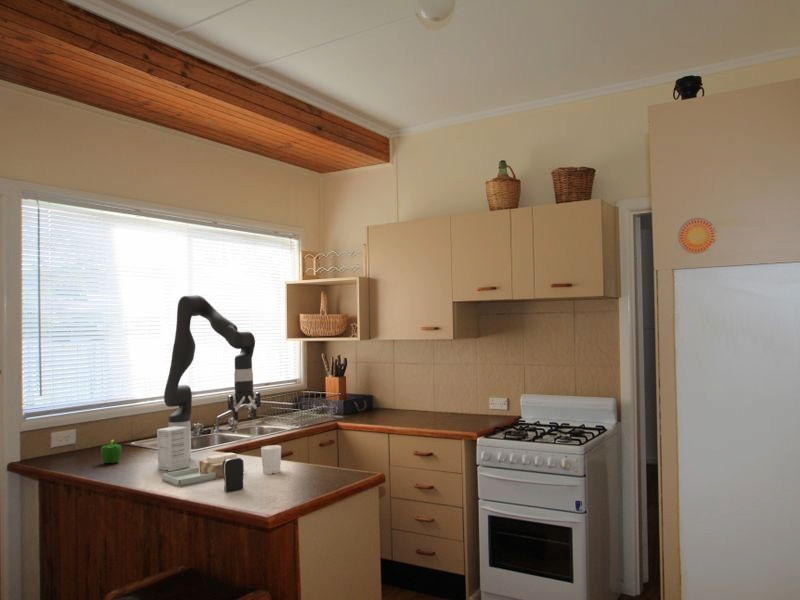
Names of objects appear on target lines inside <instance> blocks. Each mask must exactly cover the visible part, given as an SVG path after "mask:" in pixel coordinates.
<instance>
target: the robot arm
mask: <svg viewBox="0 0 800 600" xmlns="http://www.w3.org/2000/svg"><path fill="white" fill-rule="evenodd" d="M198 316H200V317H202V318H205V319H206V320H208V321H209V324H210V326H211V328H212V329H213V330H214V331H215V332H216V333H217V334H218V335H220V336H221V337H222V338H224V339H225V341H227V343H228V344H229V345H230V346H231V347H232V348H233V349H235V350H240V352H239V354H236V355H235V357H234V373H233V375H234V377H233V378H234V395H228V396H227V410H228V411H231V412H232V419H233V420H234V422H235V421H237V422H238V421H239V411H238V410H239V409H240V407H241V406H242V405H243V406H244V405H248V406H250V408H251V409H250V416H251V419H256V417H257V409H258V408H260V407H261V392H254V371H253V355H254V351H255V346H256V339H255V336H254V334H253V332H251V331H238V330H239V329H238V327H237V324H235V323H233V322H232V321H230V320H229V319H228V318H226V317H224V316H223V315H222V314H221V313H220V312H219V311H218V310H216V309H215V308H214V306H213V305H212V304H210V302H208V300H207V299H206V298H204V297H203V296H201V295H199V294H192V295H190V294H189V295H184V296H181V297H180V298H179V300H178V302H177V310H176V326H175V335H174V343H173V346H172V347H173V348H172V354H171V361H170V366H169V371H168V372H169V373H168V377H167V380H166V384H165V388H164V392H163V393H164V394H163V400H164V404H165V406H167V407H168V408H170V407H171V408H172V407H173V408H174V407H178V408H177V410H176V411H174V412H173V413H171V414H170V415H169V416H168V427H173V426H179V427H188V435H189V460H191V459H192V439H191V437H192V435H191V434H192V433H191V430H192V429H191V428H192V427H191V415H192V406H193V405H192V402H193V401H192V400H193V398H192V397H193V395H192V389H191V387H190V385H188V384H180V381H181V379H182V377H183V375H184V373H185V372H186V371H187V369H188V368H189V367H190V366H191V365H192V363H193V361H194V358H195V353H196V341H195V339H194V336H193V334H192V331H191V321H192V317H198ZM179 384H180V385H179ZM253 399H254V400H253ZM234 401H235V402H234Z"/></svg>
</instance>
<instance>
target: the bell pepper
mask: <svg viewBox="0 0 800 600" xmlns="http://www.w3.org/2000/svg"><path fill="white" fill-rule="evenodd" d="M114 442H115V440H114V439H111V440H110V444H107V445H103V446H101V447H100V454H101V458H102V461H103V463H104V464H105V463H111V464H116V463H115V462H117V463H119V462H120V459H121V456H122V450H123V449H122V448H123V447H122V445H121V444H117V443H114ZM118 461H119V462H118Z"/></svg>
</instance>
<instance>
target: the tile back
mask: <svg viewBox="0 0 800 600" xmlns="http://www.w3.org/2000/svg"><path fill="white" fill-rule="evenodd" d="M219 455H221V456H224V460H226V459H230V458H238V456H237V455H238V454H237V453H233V452H227V453H221V454H220V453H219Z"/></svg>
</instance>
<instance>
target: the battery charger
mask: <svg viewBox="0 0 800 600" xmlns="http://www.w3.org/2000/svg"><path fill="white" fill-rule="evenodd" d="M243 462H244V460H243V459H242V458H241V457H237V458H230V459H226V460H224V461H223V467H222V471H223V474H224V477H223V480H224V481H223V482H224V487H223V488H224V490H223V491H224V492H225V493H230V492H236V491H240V490H243V489H244V473H243Z"/></svg>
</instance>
